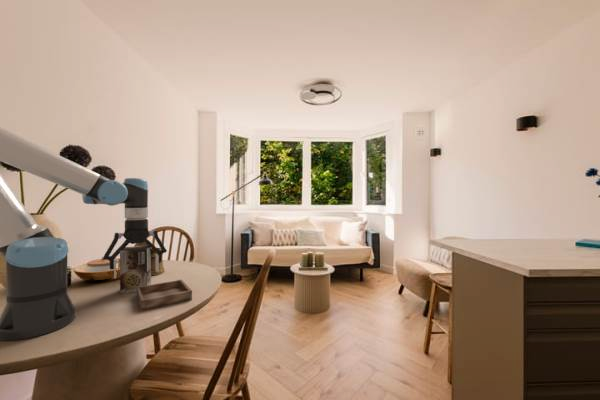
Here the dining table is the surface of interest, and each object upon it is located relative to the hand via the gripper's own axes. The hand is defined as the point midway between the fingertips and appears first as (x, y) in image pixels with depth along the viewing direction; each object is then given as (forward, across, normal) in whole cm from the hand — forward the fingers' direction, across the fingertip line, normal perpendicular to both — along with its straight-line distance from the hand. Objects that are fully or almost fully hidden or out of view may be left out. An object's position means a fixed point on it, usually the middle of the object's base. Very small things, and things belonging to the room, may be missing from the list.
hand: (136, 274), depth 98 cm
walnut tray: (+6, +7, -15) cm, 17 cm away
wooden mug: (+6, +7, +19) cm, 21 cm away
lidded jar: (+6, -10, +23) cm, 26 cm away
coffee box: (+6, 0, 0) cm, 6 cm away
